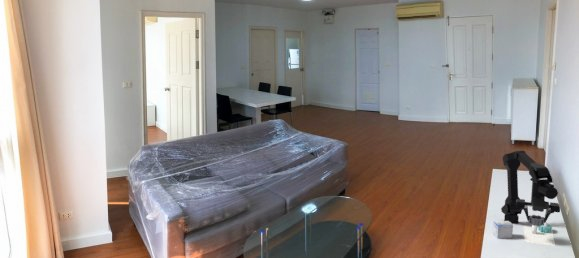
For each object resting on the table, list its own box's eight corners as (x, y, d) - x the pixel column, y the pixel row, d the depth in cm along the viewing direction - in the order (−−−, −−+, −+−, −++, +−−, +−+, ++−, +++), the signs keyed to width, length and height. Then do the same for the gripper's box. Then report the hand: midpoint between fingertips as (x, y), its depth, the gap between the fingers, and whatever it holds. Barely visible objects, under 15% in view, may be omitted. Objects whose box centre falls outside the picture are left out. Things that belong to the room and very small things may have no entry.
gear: (528, 224, 213) (528, 219, 212) (528, 219, 219) (528, 214, 218) (544, 227, 209) (545, 221, 209) (543, 221, 215) (544, 215, 215)
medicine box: (507, 236, 224) (508, 220, 222) (512, 239, 220) (513, 224, 218) (492, 236, 224) (493, 221, 222) (497, 240, 219) (497, 225, 218)
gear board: (524, 243, 215) (525, 233, 214) (523, 227, 232) (524, 217, 231) (554, 248, 209) (555, 237, 208) (551, 231, 226) (552, 221, 225)
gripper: (516, 194, 208) (515, 225, 211) (562, 199, 199) (559, 231, 203) (516, 187, 218) (515, 216, 221) (560, 191, 209) (557, 222, 212)
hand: (536, 221), depth 214 cm, fingers closed on gear, 7 cm apart
